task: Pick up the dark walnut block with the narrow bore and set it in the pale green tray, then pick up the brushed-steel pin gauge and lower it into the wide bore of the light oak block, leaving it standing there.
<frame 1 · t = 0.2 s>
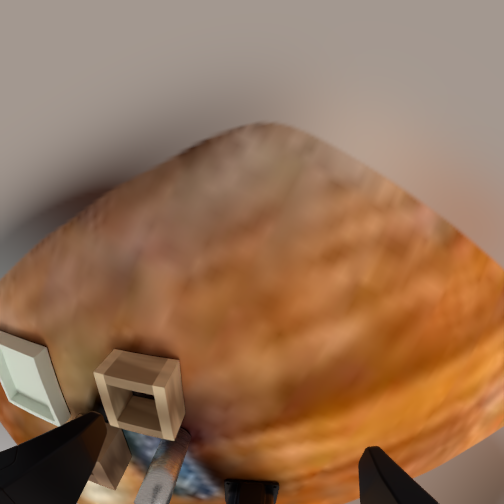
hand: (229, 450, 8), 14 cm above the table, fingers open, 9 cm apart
tray: (30, 373, 27), on the table
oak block: (149, 382, 25), on the table
walnut block: (105, 436, 28), on the table
pin gauge: (177, 434, 26), on the table
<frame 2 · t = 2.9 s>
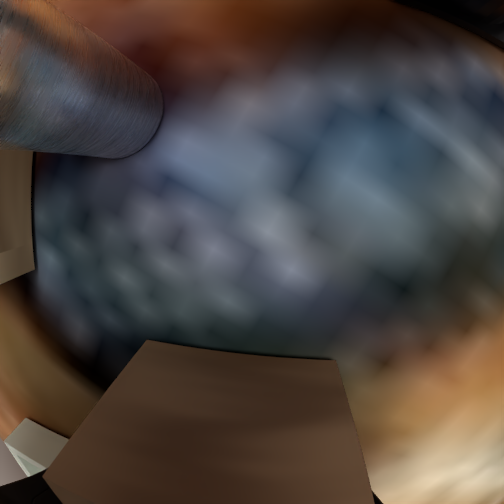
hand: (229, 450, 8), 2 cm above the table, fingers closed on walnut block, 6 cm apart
tray: (117, 496, 12), on the table
walnut block: (234, 420, 9), on the table, touching gripper
pin gauge: (120, 112, 7), on the table
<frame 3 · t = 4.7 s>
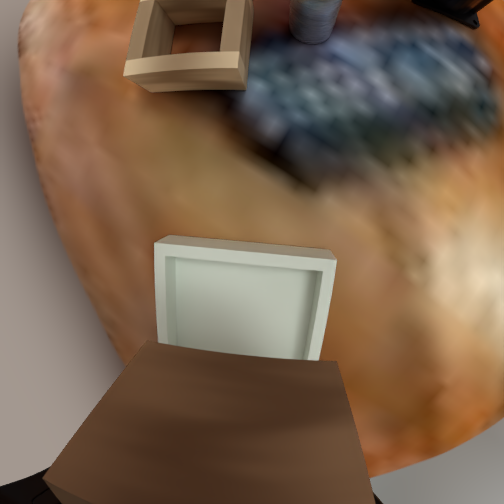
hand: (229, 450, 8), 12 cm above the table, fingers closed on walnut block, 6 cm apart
tray: (242, 316, 20), on the table
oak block: (201, 47, 16), on the table
walnut block: (235, 421, 9), point 11 cm above the table, touching gripper
pin gauge: (310, 27, 15), on the table
when the fingers open (4 cm above the table, at t = 6.8 s): walnut block drops 1 cm, resting on tray.
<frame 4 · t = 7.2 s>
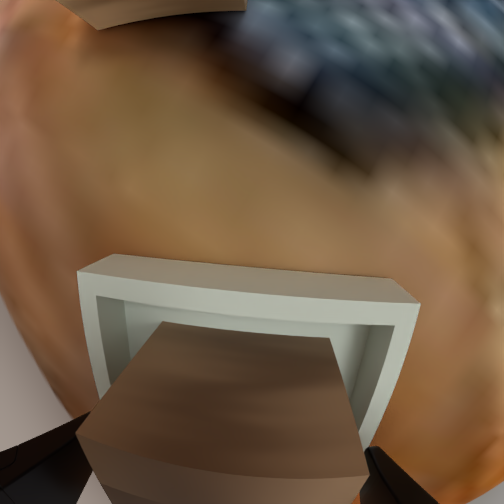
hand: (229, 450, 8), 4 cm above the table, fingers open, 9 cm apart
tray: (240, 387, 11), on the table
walnut block: (240, 395, 11), point 1 cm above the table, touching tray
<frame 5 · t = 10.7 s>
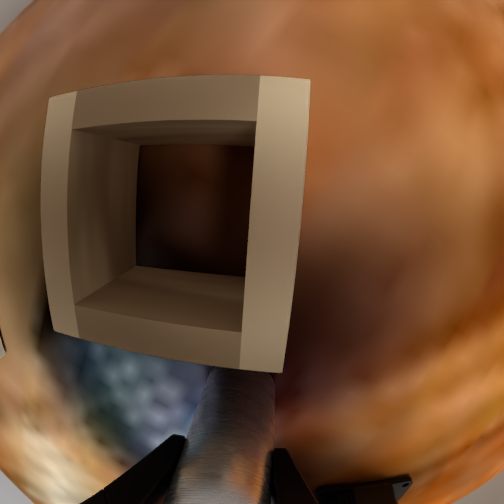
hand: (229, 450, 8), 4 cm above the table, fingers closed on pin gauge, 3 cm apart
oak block: (194, 209, 10), on the table
pin gauge: (240, 387, 11), on the table, touching gripper
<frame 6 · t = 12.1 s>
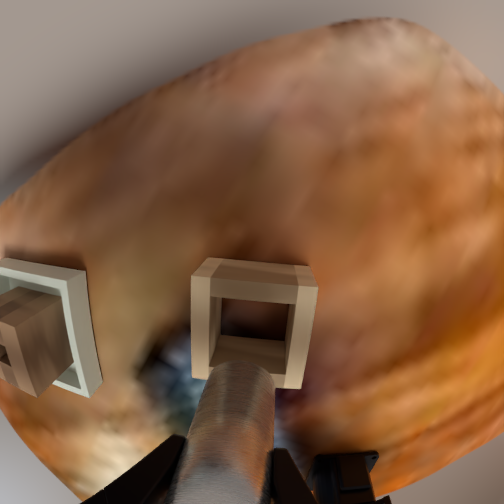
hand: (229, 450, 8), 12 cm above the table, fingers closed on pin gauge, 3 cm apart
tray: (48, 320, 21), on the table
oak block: (254, 309, 19), on the table
walnut block: (45, 323, 21), point 1 cm above the table, touching tray
pin gauge: (240, 387, 11), point 8 cm above the table, touching gripper
when the fingers open (5 cm above the table, at t = 13.8 s): pin gauge drops 1 cm, resting in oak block.
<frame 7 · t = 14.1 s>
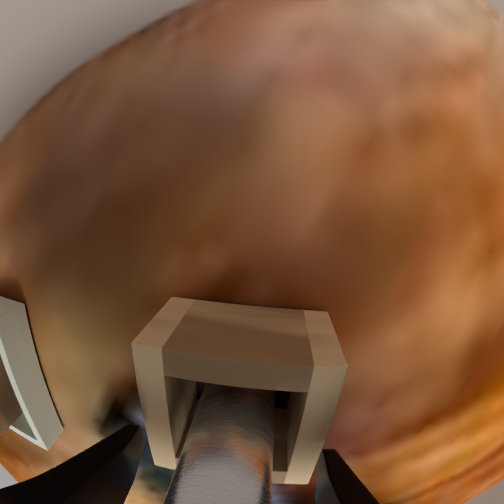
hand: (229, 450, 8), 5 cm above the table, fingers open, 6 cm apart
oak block: (243, 370, 13), on the table
pin gauge: (243, 370, 13), resting in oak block
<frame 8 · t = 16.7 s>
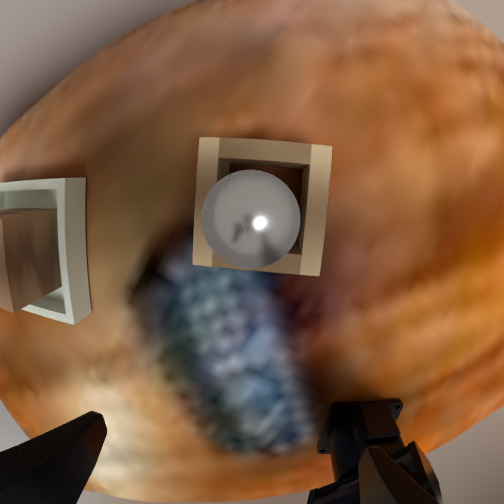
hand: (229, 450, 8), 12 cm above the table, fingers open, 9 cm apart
tray: (40, 243, 20), on the table
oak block: (263, 201, 18), on the table
walnut block: (36, 245, 19), point 1 cm above the table, touching tray
pin gauge: (263, 202, 18), resting in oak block
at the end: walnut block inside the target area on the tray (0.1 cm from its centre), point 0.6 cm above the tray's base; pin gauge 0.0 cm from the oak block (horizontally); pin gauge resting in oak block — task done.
